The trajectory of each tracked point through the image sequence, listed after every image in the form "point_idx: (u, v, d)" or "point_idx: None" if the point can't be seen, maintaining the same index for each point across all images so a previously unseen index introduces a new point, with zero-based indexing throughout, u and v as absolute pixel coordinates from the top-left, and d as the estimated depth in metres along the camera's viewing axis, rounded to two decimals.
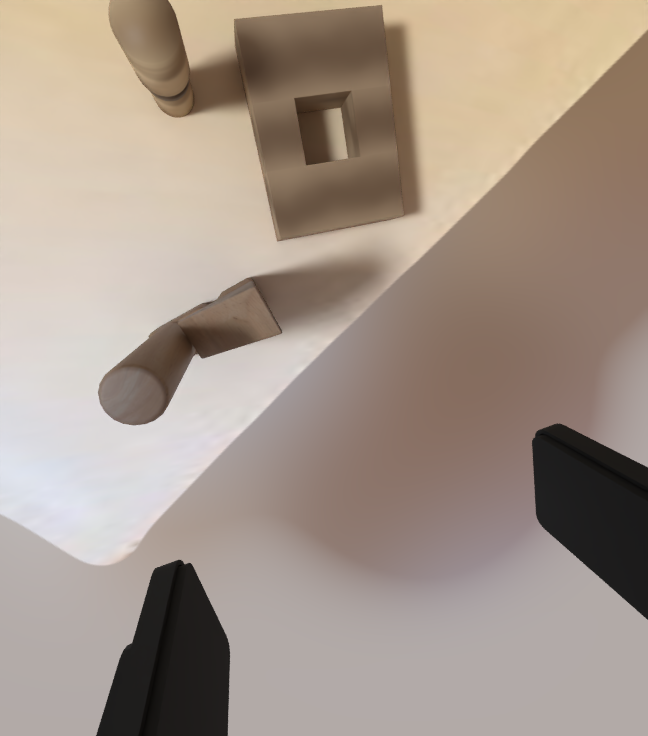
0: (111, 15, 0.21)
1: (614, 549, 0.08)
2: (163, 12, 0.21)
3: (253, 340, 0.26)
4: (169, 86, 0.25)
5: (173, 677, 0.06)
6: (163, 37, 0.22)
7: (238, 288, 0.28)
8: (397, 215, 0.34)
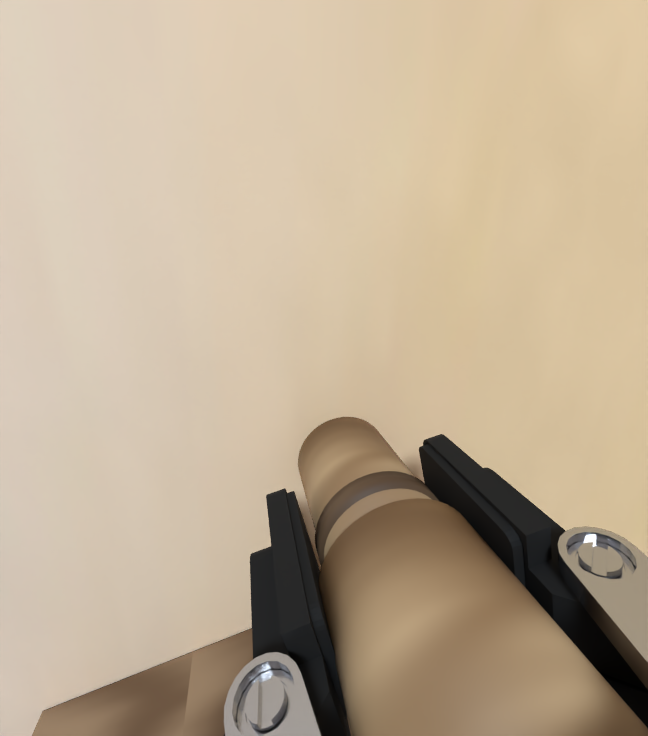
0: None
1: None
2: None
3: None
4: None
5: (310, 562, 0.07)
6: None
7: None
8: None
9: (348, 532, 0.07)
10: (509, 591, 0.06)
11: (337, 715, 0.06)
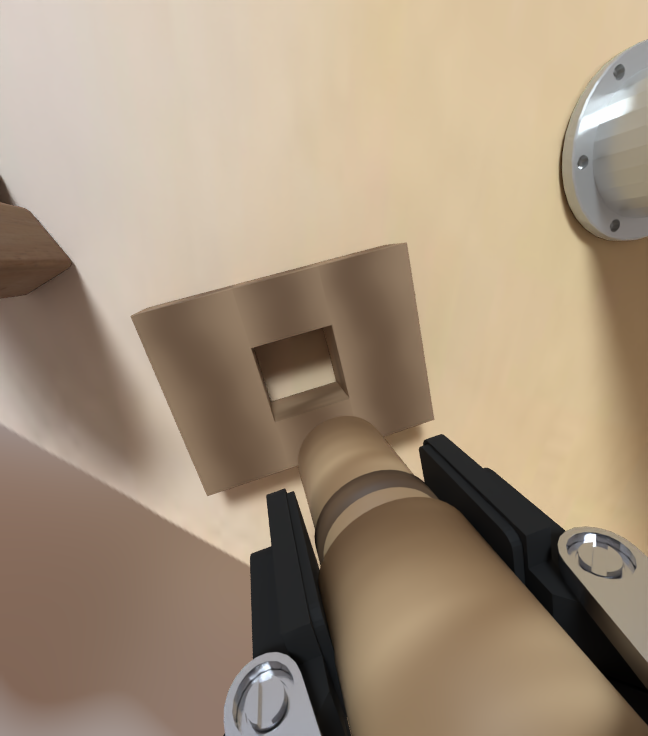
0: None
1: None
2: None
3: None
4: None
5: (310, 562, 0.07)
6: None
7: None
8: (205, 487, 0.23)
9: (348, 531, 0.07)
10: (509, 589, 0.06)
11: (337, 715, 0.06)
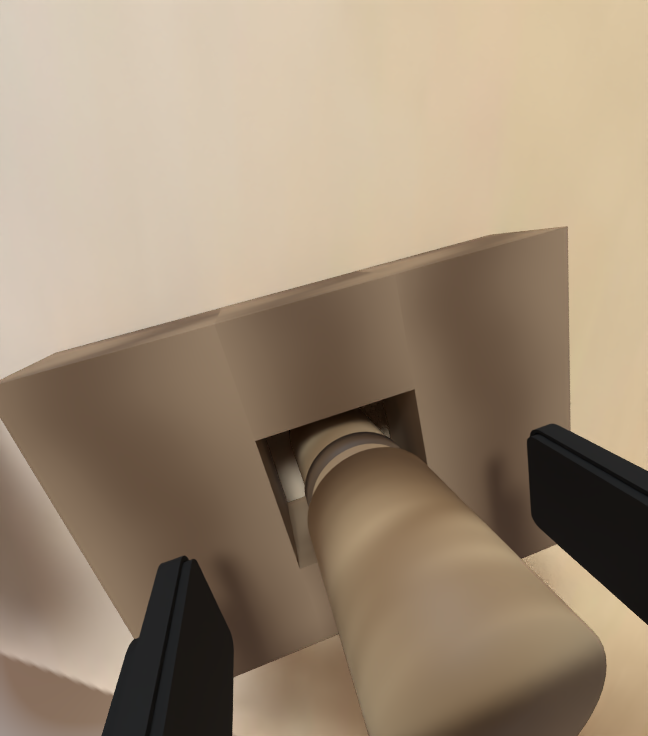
0: (521, 631, 0.05)
1: (607, 548, 0.08)
2: None
3: None
4: None
5: (180, 669, 0.06)
6: None
7: None
8: None
9: (331, 473, 0.09)
10: (450, 501, 0.08)
11: None
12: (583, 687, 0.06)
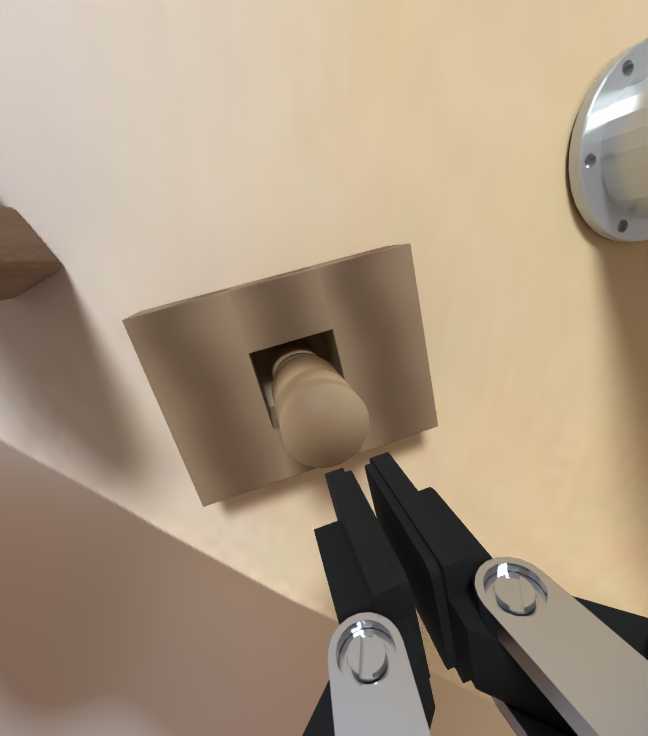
0: (327, 389, 0.15)
1: (409, 574, 0.08)
2: (341, 449, 0.16)
3: None
4: None
5: None
6: (313, 450, 0.15)
7: None
8: (201, 497, 0.22)
9: (282, 366, 0.19)
10: (329, 369, 0.17)
11: (427, 673, 0.06)
12: (360, 421, 0.15)
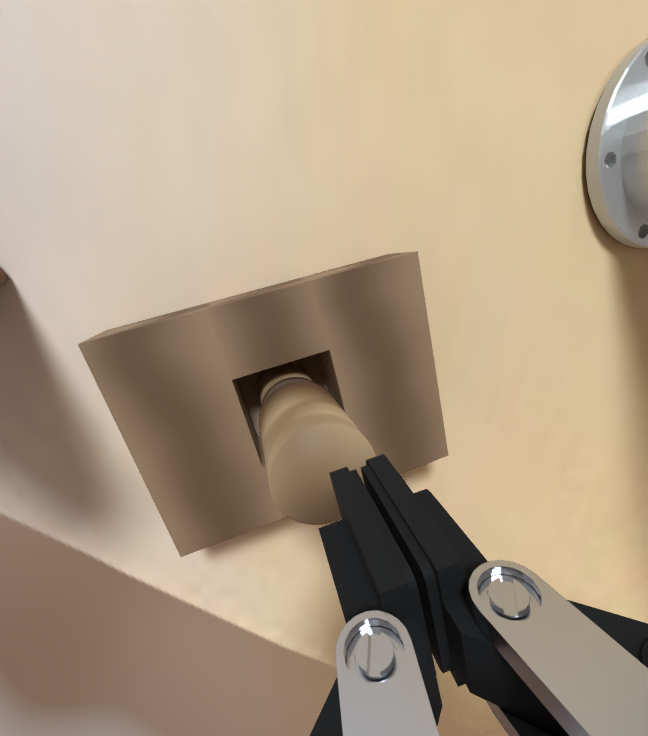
0: (326, 430, 0.12)
1: None
2: None
3: None
4: None
5: None
6: (309, 504, 0.12)
7: None
8: (178, 546, 0.19)
9: (271, 394, 0.16)
10: (326, 400, 0.15)
11: (434, 671, 0.06)
12: None
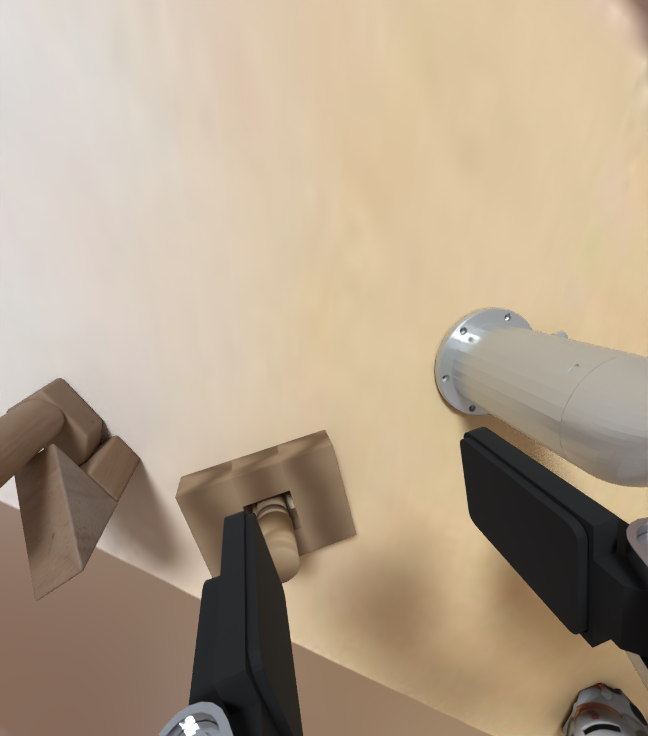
0: (278, 551, 0.31)
1: (521, 543, 0.08)
2: (286, 575, 0.32)
3: (29, 557, 0.24)
4: None
5: (259, 595, 0.07)
6: None
7: (103, 500, 0.28)
8: None
9: (260, 518, 0.35)
10: (283, 527, 0.34)
11: None
12: (295, 562, 0.32)
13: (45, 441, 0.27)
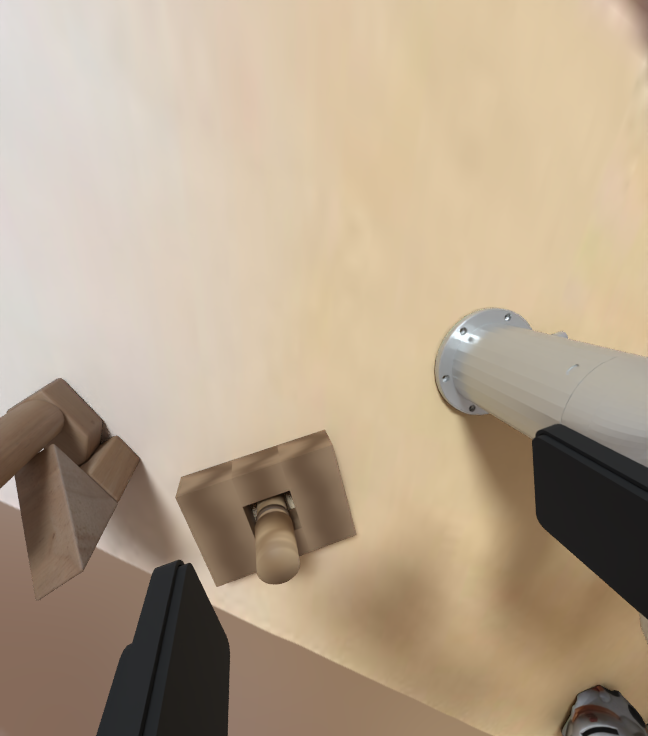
0: (278, 551, 0.31)
1: (614, 549, 0.08)
2: (286, 575, 0.32)
3: (29, 558, 0.24)
4: None
5: (173, 677, 0.06)
6: (272, 577, 0.32)
7: (103, 500, 0.28)
8: (215, 582, 0.38)
9: (260, 518, 0.35)
10: (283, 527, 0.34)
11: None
12: (295, 562, 0.32)
13: (45, 441, 0.27)
